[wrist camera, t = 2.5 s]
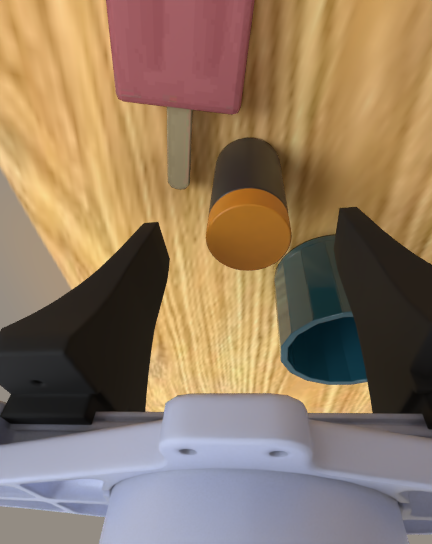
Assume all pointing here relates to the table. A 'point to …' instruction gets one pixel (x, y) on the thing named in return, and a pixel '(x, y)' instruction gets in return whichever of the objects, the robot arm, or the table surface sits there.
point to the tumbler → (316, 317)
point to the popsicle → (180, 62)
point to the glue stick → (248, 207)
